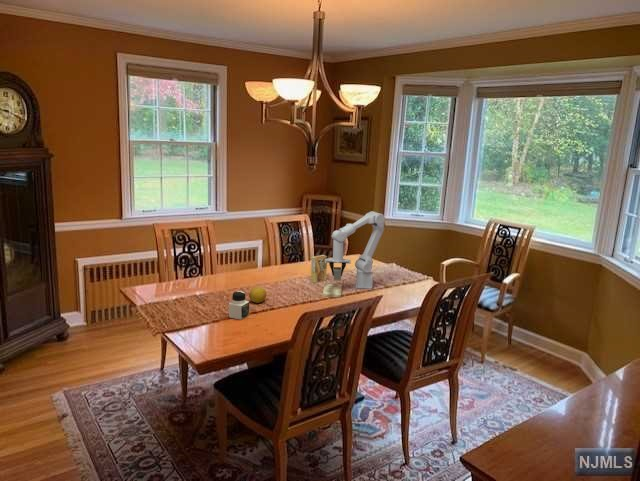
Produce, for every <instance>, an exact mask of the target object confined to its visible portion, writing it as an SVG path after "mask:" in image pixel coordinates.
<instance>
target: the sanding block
mask: <svg viewBox="0 0 640 481" xmlns="http://www.w3.org/2000/svg"><path fill="white" fill-rule="evenodd" d="M341 267H342V266H341ZM341 267H339V266H335V267H334V276H333V282H342V276H341Z"/></svg>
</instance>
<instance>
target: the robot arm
mask: <svg viewBox="0 0 640 481" xmlns="http://www.w3.org/2000/svg"><path fill="white" fill-rule="evenodd" d="M386 220H387V219H386V217H385V215H384V214H383V213H379V212H377V211H374V210H371V211H369V212H367V213H365V215H364V216H362V217H361V218H359V219H358V220H356V221H355V222H353V223H346V224H345V226H342V227H340V228H339V229H338V230H337V229H336V230H334V231H333V232H332V233H331V234H332V235H331V238H332V241H333V242H332V258H327V259H325V263H327V264H329V265H328V266H329V267H330V268H329V269H330V270H331V274H332V277H334V266H335V264H341V277H343V275H344V274H343V273H344V270H345V268H346V266H347V264H349V265H351V262H352V260H351V259H346V258H344V243H345V241H346V239H347V238H348V237H349V236H351V235H352V234H354V233H355V232H356V230H358V229H359V228H361V227H363V226H364V225H366V224H370V225H371V226H372V228H373V230H372V232H371V235H370V237H369V239H368V242H367V244H366V246H365V249H364V251H363V253H362V254H360V255H359V257H358V258H357V259H356V261H355V262H354V266H355V269H356V283H355V289H368V290H369V289H370V290H371V289H373V285H374V282H373V280H374V279H373V278H374V274H373V273H374V272H373V271H372V270H373V264H374V260H373V256H374V254H375V251H376V249H377V247H378V245H379V242H380V240H381V237H382V235H383V233H384V231H385V222H386Z"/></svg>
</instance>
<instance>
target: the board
mask: <svg viewBox="0 0 640 481" xmlns="http://www.w3.org/2000/svg"><path fill="white" fill-rule="evenodd" d="M342 287H343V284H342V283H341V284H340V283H337V284H335V283H324V286H323V291H322V297H332V298H334V297H335V298H341V297H342V290H343V289H342Z"/></svg>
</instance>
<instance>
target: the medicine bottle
mask: <svg viewBox="0 0 640 481" xmlns="http://www.w3.org/2000/svg"><path fill="white" fill-rule="evenodd" d="M248 316H250V301H249V300H246V293H245V292H244V291H240V290H238V291H234V292H233V293H232V301H231V302H229V303H228V317H229V318H230V319H234V320H235V319H236V320H240V321H242V320H244V319H245V318H247V317H248Z"/></svg>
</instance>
